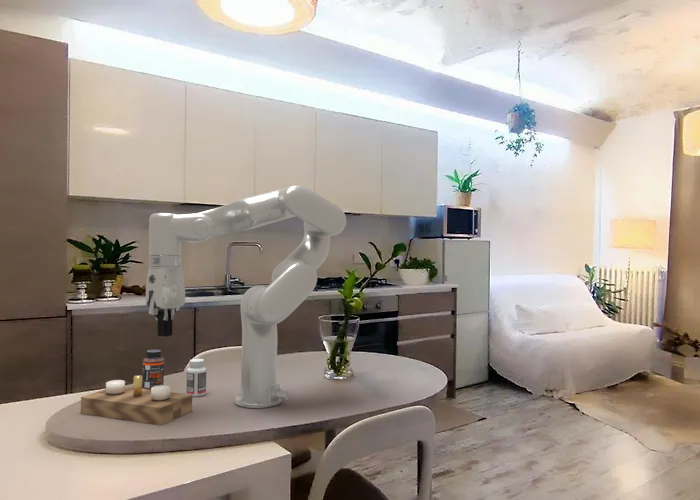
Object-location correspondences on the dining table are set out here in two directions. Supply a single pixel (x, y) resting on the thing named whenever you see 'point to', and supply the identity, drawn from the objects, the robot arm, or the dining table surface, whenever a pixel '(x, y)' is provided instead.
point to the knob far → (115, 387)
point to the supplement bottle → (153, 370)
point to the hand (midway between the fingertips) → (165, 335)
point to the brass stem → (137, 386)
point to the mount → (136, 406)
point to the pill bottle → (196, 378)
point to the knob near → (160, 392)
